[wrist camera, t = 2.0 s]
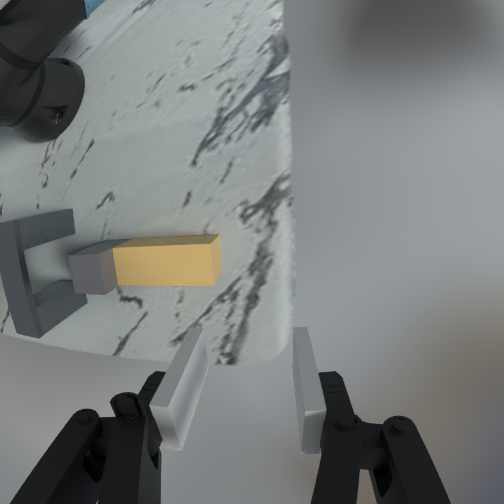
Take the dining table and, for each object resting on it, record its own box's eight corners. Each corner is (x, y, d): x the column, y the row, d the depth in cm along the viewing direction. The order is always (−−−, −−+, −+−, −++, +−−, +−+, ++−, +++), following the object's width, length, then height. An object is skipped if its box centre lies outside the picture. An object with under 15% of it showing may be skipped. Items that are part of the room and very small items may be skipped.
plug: (106, 240, 41) (68, 255, 31) (219, 234, 39) (203, 250, 30) (110, 271, 42) (75, 293, 32) (222, 270, 41) (208, 296, 31)
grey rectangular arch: (50, 212, 40) (-8, 224, 27) (72, 208, 40) (13, 220, 26) (65, 301, 44) (17, 333, 30) (87, 302, 43) (39, 338, 30)
